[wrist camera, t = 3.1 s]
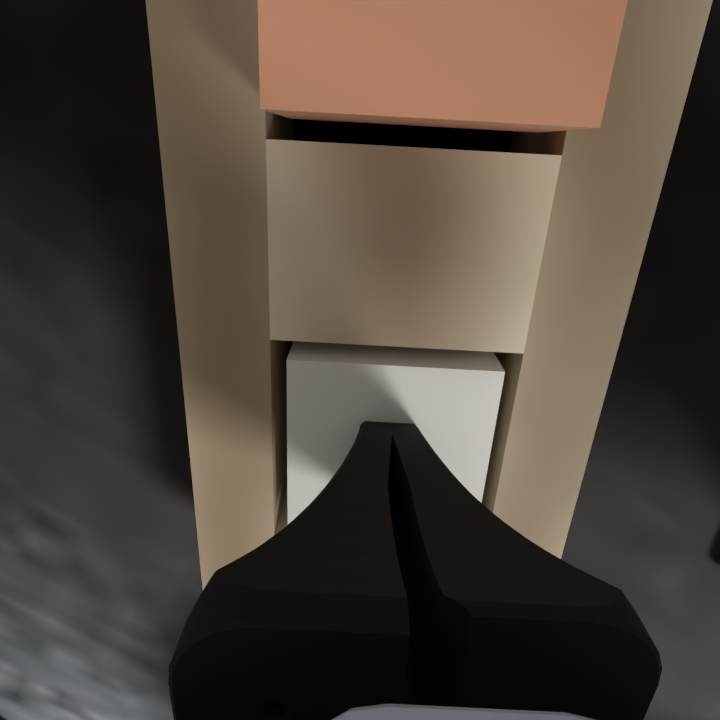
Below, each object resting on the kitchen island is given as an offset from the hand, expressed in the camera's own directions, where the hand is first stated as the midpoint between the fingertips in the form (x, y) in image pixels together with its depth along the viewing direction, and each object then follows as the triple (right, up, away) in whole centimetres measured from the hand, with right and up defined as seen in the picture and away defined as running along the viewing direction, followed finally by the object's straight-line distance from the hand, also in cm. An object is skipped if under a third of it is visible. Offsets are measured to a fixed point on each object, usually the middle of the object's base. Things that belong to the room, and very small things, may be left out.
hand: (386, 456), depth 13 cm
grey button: (0, +1, +3) cm, 3 cm away
